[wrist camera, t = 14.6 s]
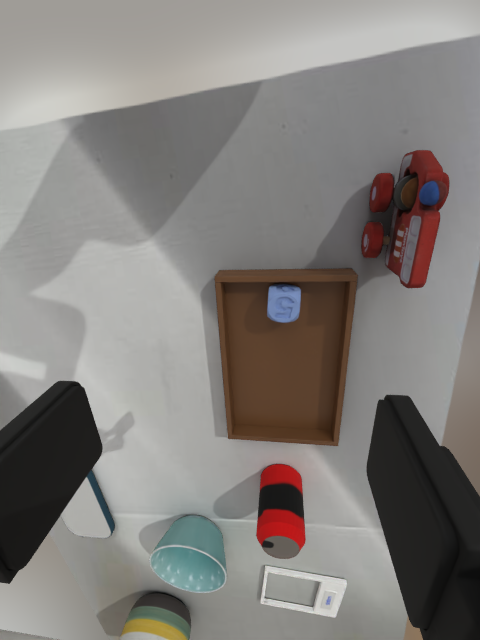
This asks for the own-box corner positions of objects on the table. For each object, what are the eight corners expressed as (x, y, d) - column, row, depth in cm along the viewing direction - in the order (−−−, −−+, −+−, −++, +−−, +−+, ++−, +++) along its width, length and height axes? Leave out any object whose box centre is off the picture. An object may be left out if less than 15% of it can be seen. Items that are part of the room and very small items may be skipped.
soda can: (264, 459, 54) (259, 527, 43) (305, 467, 54) (311, 538, 43) (258, 486, 58) (252, 556, 47) (297, 494, 57) (300, 566, 46)
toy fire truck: (440, 154, 32) (505, 141, 23) (413, 266, 37) (457, 293, 28) (374, 155, 33) (410, 142, 24) (356, 265, 38) (380, 290, 29)
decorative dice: (268, 310, 41) (266, 321, 38) (269, 282, 40) (268, 292, 36) (296, 312, 41) (298, 324, 37) (299, 284, 39) (301, 294, 36)
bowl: (171, 546, 70) (158, 589, 62) (156, 501, 64) (140, 543, 56) (237, 552, 67) (231, 597, 60) (228, 505, 61) (220, 550, 54)
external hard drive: (119, 530, 70) (115, 539, 68) (75, 527, 72) (70, 536, 70) (89, 457, 61) (83, 465, 59) (39, 455, 62) (32, 463, 61)
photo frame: (335, 618, 71) (260, 604, 73) (334, 612, 72) (260, 598, 74) (347, 585, 65) (265, 571, 67) (346, 579, 66) (265, 565, 68)
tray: (219, 270, 41) (214, 276, 38) (352, 268, 38) (358, 275, 35) (231, 424, 52) (227, 438, 49) (334, 430, 50) (338, 446, 47)
